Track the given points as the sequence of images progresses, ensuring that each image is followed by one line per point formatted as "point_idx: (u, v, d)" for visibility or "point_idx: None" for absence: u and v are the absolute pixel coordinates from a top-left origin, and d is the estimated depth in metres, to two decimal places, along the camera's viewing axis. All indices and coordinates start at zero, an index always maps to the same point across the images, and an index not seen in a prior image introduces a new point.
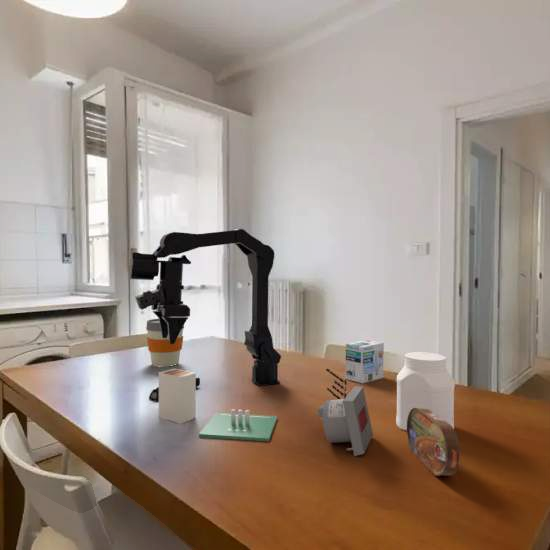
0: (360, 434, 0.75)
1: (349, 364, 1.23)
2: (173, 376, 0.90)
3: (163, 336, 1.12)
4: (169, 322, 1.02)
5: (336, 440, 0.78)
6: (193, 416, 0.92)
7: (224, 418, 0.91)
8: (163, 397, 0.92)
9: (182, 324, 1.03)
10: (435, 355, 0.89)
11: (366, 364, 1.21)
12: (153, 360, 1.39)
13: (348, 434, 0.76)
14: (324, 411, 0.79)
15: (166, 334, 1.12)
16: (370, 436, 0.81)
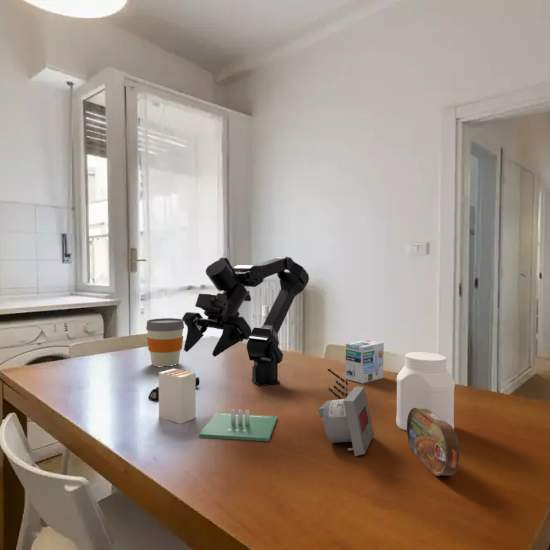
0: (361, 434, 0.75)
1: (349, 364, 1.23)
2: (173, 376, 0.90)
3: (186, 348, 1.01)
4: (228, 333, 0.97)
5: (337, 440, 0.78)
6: (193, 416, 0.92)
7: (224, 418, 0.91)
8: (163, 397, 0.92)
9: (233, 343, 0.99)
10: (435, 355, 0.89)
11: (366, 364, 1.21)
12: (153, 360, 1.39)
13: (348, 434, 0.76)
14: (325, 411, 0.79)
15: (188, 348, 1.01)
16: (371, 436, 0.81)
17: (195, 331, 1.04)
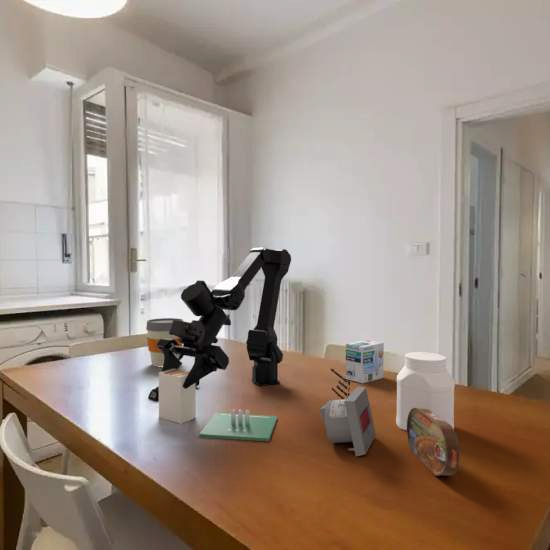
0: (362, 434, 0.74)
1: (349, 364, 1.23)
2: (173, 376, 0.90)
3: None
4: (200, 363, 0.91)
5: (338, 440, 0.78)
6: (193, 416, 0.92)
7: (224, 418, 0.91)
8: (163, 397, 0.92)
9: (206, 373, 0.92)
10: (435, 355, 0.88)
11: (366, 364, 1.21)
12: (153, 360, 1.39)
13: (350, 435, 0.76)
14: (326, 411, 0.79)
15: None
16: (373, 437, 0.80)
17: (172, 360, 0.97)
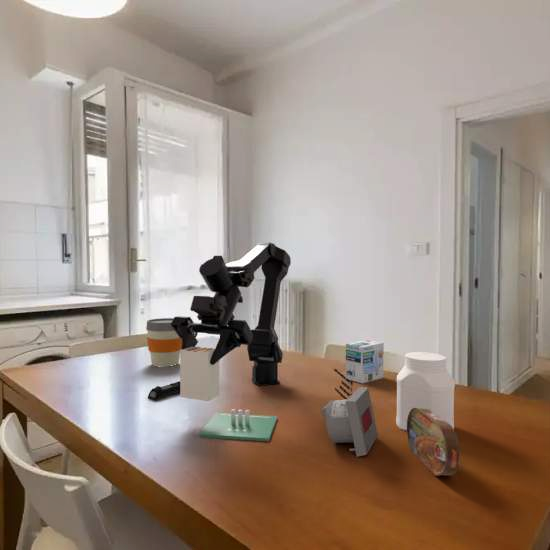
0: (363, 435, 0.74)
1: (349, 364, 1.23)
2: (198, 353, 0.87)
3: None
4: (226, 338, 0.89)
5: (339, 440, 0.78)
6: (217, 393, 0.90)
7: (224, 418, 0.91)
8: (186, 375, 0.88)
9: (230, 349, 0.90)
10: (435, 355, 0.89)
11: (366, 364, 1.21)
12: (153, 360, 1.39)
13: (351, 435, 0.76)
14: (327, 411, 0.79)
15: None
16: (375, 437, 0.80)
17: (190, 338, 0.93)
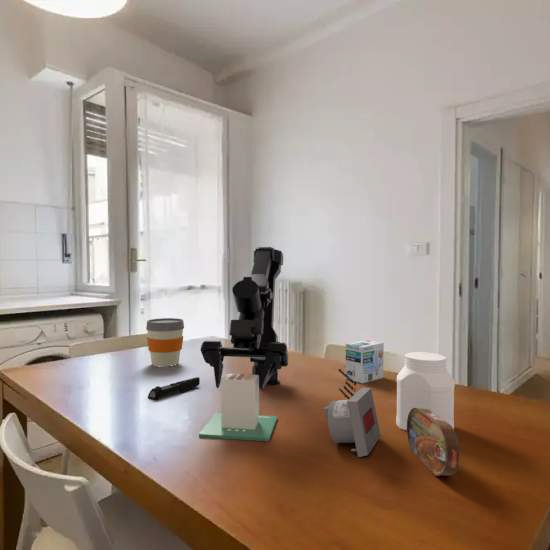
0: (364, 435, 0.74)
1: (349, 364, 1.23)
2: (243, 380, 0.85)
3: (218, 384, 0.86)
4: None
5: (341, 440, 0.78)
6: (258, 420, 0.88)
7: None
8: (228, 405, 0.85)
9: (272, 372, 0.90)
10: (435, 355, 0.89)
11: (366, 364, 1.21)
12: (153, 360, 1.39)
13: (352, 435, 0.76)
14: (329, 411, 0.79)
15: (219, 384, 0.87)
16: (377, 438, 0.80)
17: (220, 362, 0.90)
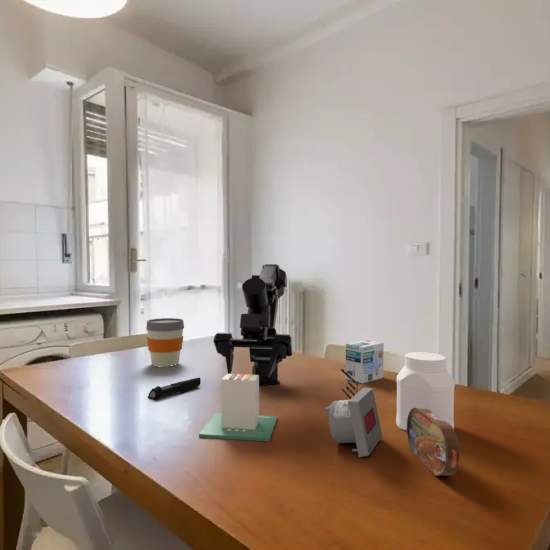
0: (365, 435, 0.74)
1: (349, 364, 1.23)
2: (243, 380, 0.85)
3: (229, 372, 0.96)
4: None
5: (342, 440, 0.78)
6: (258, 420, 0.88)
7: None
8: (228, 405, 0.85)
9: (278, 361, 0.99)
10: (435, 355, 0.89)
11: (366, 364, 1.21)
12: (153, 360, 1.39)
13: (353, 435, 0.76)
14: (331, 411, 0.79)
15: (230, 371, 0.97)
16: (378, 438, 0.80)
17: (231, 352, 1.00)
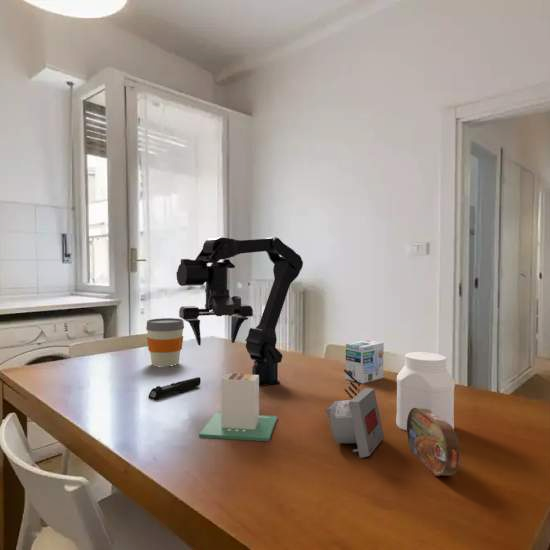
0: (366, 436, 0.74)
1: (349, 364, 1.23)
2: (243, 380, 0.85)
3: None
4: None
5: (343, 441, 0.78)
6: (258, 420, 0.88)
7: None
8: (228, 405, 0.85)
9: None
10: (435, 355, 0.89)
11: (366, 364, 1.21)
12: (153, 360, 1.39)
13: (354, 436, 0.75)
14: (332, 411, 0.79)
15: None
16: (380, 439, 0.79)
17: None
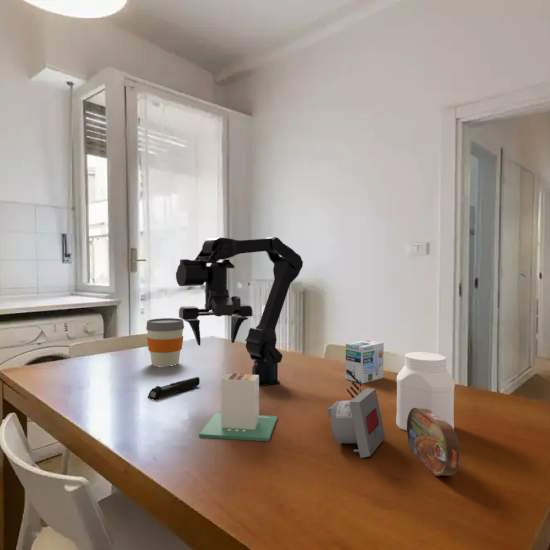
0: (367, 436, 0.74)
1: (349, 364, 1.23)
2: (243, 380, 0.85)
3: None
4: None
5: (344, 441, 0.77)
6: (258, 420, 0.88)
7: None
8: (228, 405, 0.85)
9: None
10: (435, 355, 0.89)
11: (366, 364, 1.21)
12: (153, 360, 1.39)
13: (355, 436, 0.75)
14: (333, 411, 0.79)
15: None
16: (381, 439, 0.79)
17: None
